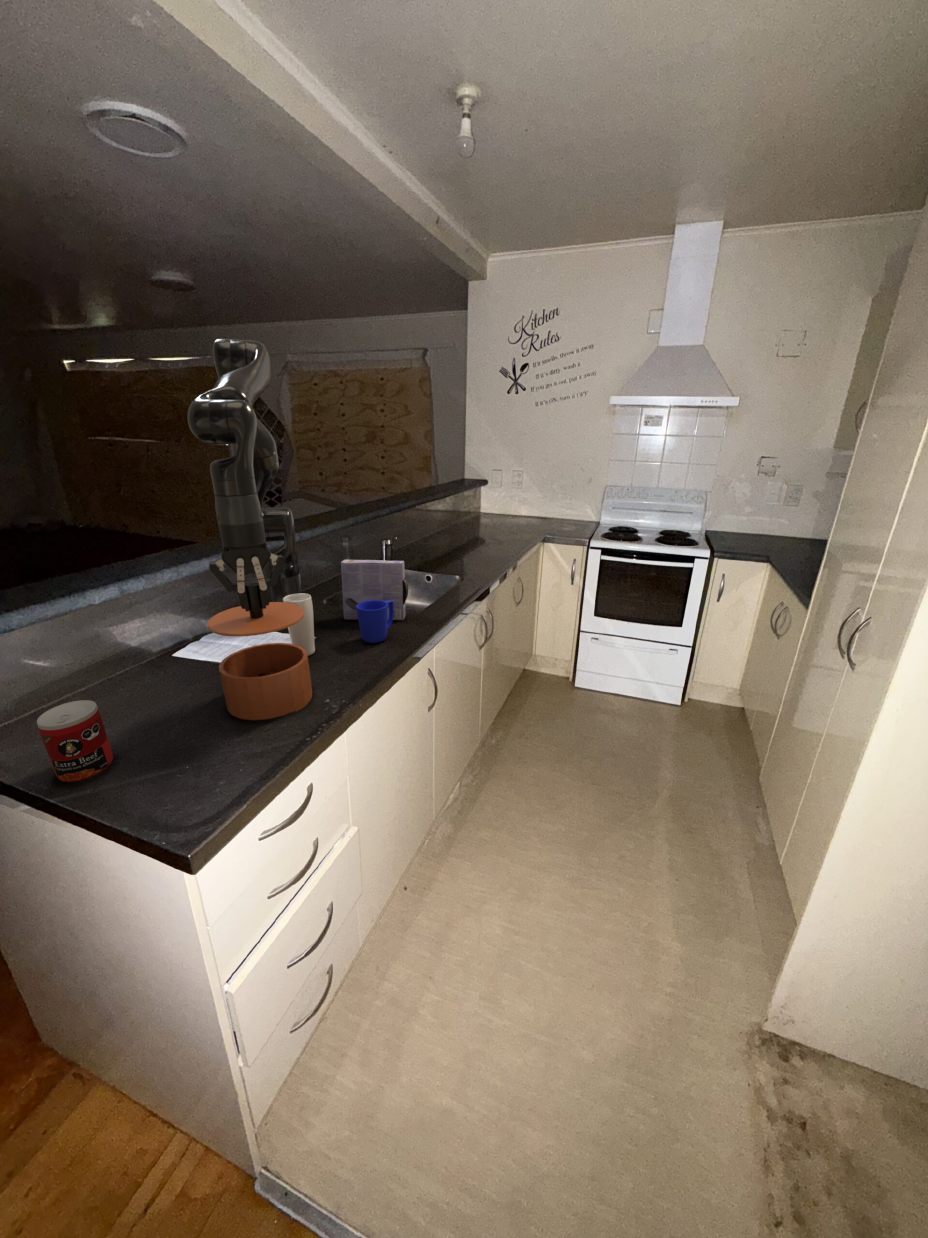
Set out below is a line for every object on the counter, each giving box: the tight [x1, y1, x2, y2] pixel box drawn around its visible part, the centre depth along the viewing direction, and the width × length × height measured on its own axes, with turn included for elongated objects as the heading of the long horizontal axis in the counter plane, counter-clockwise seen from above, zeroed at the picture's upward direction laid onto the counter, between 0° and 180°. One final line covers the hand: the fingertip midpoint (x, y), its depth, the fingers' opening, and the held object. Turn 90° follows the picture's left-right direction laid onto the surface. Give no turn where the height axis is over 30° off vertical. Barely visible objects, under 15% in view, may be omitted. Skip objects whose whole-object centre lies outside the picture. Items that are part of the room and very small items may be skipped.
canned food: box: [36, 699, 114, 783], centre depth 79 cm, size 8×8×11 cm
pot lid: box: [206, 582, 304, 637], centre depth 94 cm, size 18×18×8 cm
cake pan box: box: [340, 559, 409, 621], centre depth 143 cm, size 19×5×18 cm, turn 89°
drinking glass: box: [283, 592, 316, 657], centre depth 120 cm, size 7×7×15 cm
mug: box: [356, 600, 394, 644], centre depth 131 cm, size 8×12×10 cm
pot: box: [218, 642, 313, 721], centre depth 100 cm, size 17×17×10 cm
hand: (255, 608), depth 94 cm, fingers closed on pot lid, 2 cm apart
